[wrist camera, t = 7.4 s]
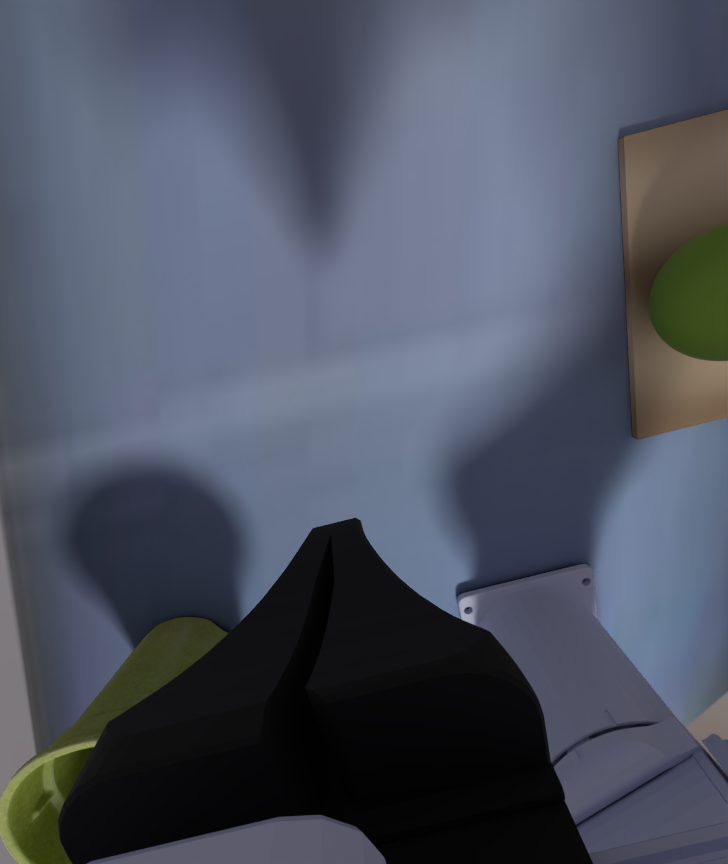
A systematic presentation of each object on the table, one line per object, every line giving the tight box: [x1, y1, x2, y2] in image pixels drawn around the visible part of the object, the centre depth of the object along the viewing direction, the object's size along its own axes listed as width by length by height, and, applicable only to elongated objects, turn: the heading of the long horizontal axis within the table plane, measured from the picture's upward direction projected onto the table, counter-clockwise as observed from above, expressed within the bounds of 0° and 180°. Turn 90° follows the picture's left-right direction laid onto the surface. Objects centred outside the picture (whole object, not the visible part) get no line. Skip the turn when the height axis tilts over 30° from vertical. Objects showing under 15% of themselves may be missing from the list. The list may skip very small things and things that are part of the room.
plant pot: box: [0, 617, 228, 864], centre depth 21 cm, size 9×9×9 cm
